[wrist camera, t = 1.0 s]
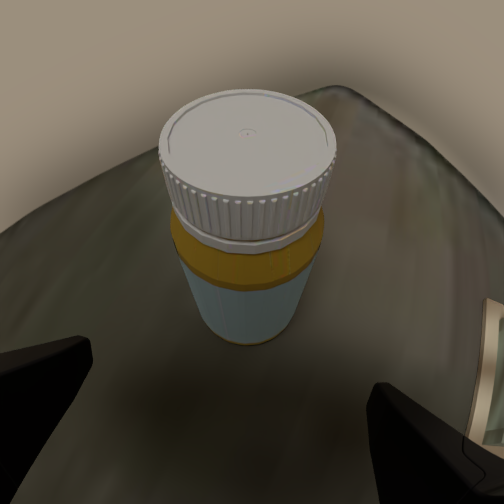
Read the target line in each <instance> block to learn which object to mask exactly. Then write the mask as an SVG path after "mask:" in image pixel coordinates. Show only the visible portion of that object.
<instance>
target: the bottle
mask: <svg viewBox="0 0 504 504" xmlns="http://www.w3.org/2000/svg"><path fill="white" fill-rule="evenodd" d="M336 152H337V149H336V138H335V134H334V132H333V129H332V127H331V126H330V124H329V123H328V121H327V120H326V119H325V118H324V117H323V116H322V115H321V114H320V113H319V112H318V111H317V110H315V109H314V108H313V107H311V106H310V105H308V104H306V103H304V102H303V101H300V100H298V99H296V98H294V97H291V96H288V95H285V94H281V93H277V92H272V91H266V90H257V89H238V90H228V91H222V92H218V93H214V94H210V95H207V96H204V97H202V98H199V99H197V100H195V101H193V102H191V103H189V104H187V105H185V106H184V107H182V108H181V109H180V110H178V111H177V112H176V113H175V114H174V115H173V116H172V117H171V118H170V119H169V120H168V121H167V123H166V124H165V126H164V128H163V130H162V132H161V135H160V140H159V152H158V153H159V159H160V163H161V167H162V170H163V174H164V178H165V181H166V185H167V189H168V192H169V195H170V198H171V201H172V205H173V208H172V212H171V224H170V228H171V234H172V237H173V241H174V244H175V247H176V250H177V253H178V256H179V259H180V261H181V264H182V267H183V269H184V272H185V275H186V278H187V280H188V283H189V285H190V288H191V291H192V293H193V296H194V298H195V301H196V304H197V306H198V309H199V311H200V314H201V316H202V318H203V320H204V322H205V323H206V325H207V326H208V327H209V328H210V329H211V331H212V332H213V333H214V334H216V335H217V336H219V337H220V338H222V339H224V340H225V341H228V342H230V343H235V344H239V345H256V344H261V343H264V342H266V341H268V340H271V339H273V338H275V337H276V336H277V335H278V334H280V333H281V332H282V331H283V330H284V329H285V328H286V327H287V325H288V323H289V322H290V320H291V318H292V316H293V315H294V312H295V310H296V307H297V305H298V302H299V300H300V297H301V295H302V292H303V290H304V287H305V284H306V282H307V279H308V277H309V274H310V271H311V269H312V266H313V263H314V261H315V258H316V255H317V253H318V250H319V247H320V244H321V240H322V236H323V229H324V215H323V210H322V206H321V205H322V202H323V199H324V198H325V195H326V191H327V188H328V184H329V181H330V177H331V174H332V170H333V167H334V163H335V160H336Z"/></svg>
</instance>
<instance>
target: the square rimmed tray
mask: <svg viewBox="0 0 504 504" xmlns="http://www.w3.org/2000/svg"><path fill="white" fill-rule="evenodd" d="M465 436H466V437H467V438H469V439H470V440H472V441H473V442H475V443H476V444H478V445H480V446H481V447H483V448H484V449H486V450H488V451H490V452H491V453H493V454H495V455H497V456H499V457H501V458H503V459H504V305H502V304H500V303H498V302H495V301H493V300H491V299H488V298H486V299H484V300H483V319H482V334H481V346H480V355H479V364H478V371H477V378H476V385H475V390H474V396H473V401H472V406H471V411H470V416H469V420H468V425H467V429H466V433H465Z"/></svg>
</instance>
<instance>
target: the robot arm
mask: <svg viewBox="0 0 504 504" xmlns="http://www.w3.org/2000/svg"><path fill="white" fill-rule="evenodd" d="M92 364H93V357H92V350H91V343H90V340H89V339H88V338H86V337H83V336H80V335H77V336H73V337H69V338H65V339H61V340H56V341H52V342H48V343H44V344H39V345H35V346H31V347H26V348H22V349H18V350H13V351H9V352H4V353H0V504H10V502H11V500H12V499H13V497H14V495H15V493H16V492H17V490H18V489H17V488H19V486H20V484H21V483H22V481H23V479H24V478H25V476H26V474H27V473H28V471H29V469H30V468H31V466H32V464H33V463H34V461H35V459H36V458H37V456H38V454H39V453H40V451H41V450H42V448H43V446H44V445H45V443H46V442H47V440H48V439H49V437H50V435H51V434H52V432H53V431H54V429H55V428H56V426H57V425H58V423H59V422H60V420H61V418H62V417H63V415H64V414H65V412H66V411H67V409H68V408H69V406H70V405H71V403H72V402H73V400H74V399H75V397H76V395H77V393H78V391H79V389H80V387H81V386H82V384H83V382H84V380H85V378H86V376H87V374H88V372H89V370H90V369H91V367H92ZM366 412H367V422H368V434H369V446H370V453H371V458H372V463H373V469H374V474H375V479H376V484H377V490H378V496H379V501H380V504H504V459H503V458H501V457H499V456H497V455H495V454H493V453H491V452H490V451H488V450H486V449H484V448H483V447H481V446H480V445H478V444H476V443H475V442H473V441H472V440H470V439H469V438H467V437H466V436H463V434H461V433H460V432H458V431H457V430H456V429H454V428H453V427H451V426H450V425H448V424H447V423H445V422H444V421H442V420H441V419H439V418H438V417H437V416H435V415H434V414H432V413H431V412H429V411H428V410H426V409H425V408H424V407H422V406H421V405H419V404H418V403H416V402H415V401H414V400H412V399H411V398H409V397H408V396H406V395H405V394H404V393H402V392H401V391H399V390H398V389H397V388H395V387H394V386H392V385H391V384H390V383H387V382H377V383H376V384H375V385H374V387H373V389H372V392H371V394H370V397H369V400H368V402H367V407H366Z"/></svg>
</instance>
